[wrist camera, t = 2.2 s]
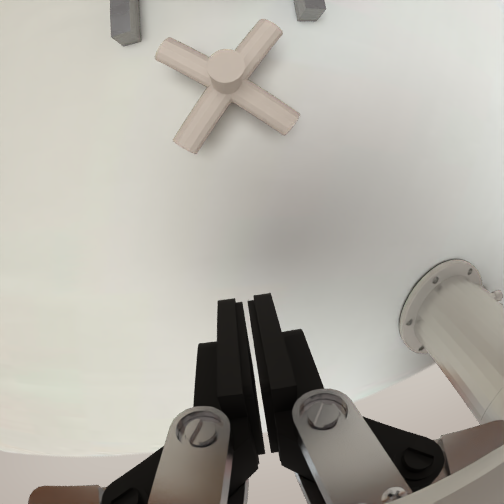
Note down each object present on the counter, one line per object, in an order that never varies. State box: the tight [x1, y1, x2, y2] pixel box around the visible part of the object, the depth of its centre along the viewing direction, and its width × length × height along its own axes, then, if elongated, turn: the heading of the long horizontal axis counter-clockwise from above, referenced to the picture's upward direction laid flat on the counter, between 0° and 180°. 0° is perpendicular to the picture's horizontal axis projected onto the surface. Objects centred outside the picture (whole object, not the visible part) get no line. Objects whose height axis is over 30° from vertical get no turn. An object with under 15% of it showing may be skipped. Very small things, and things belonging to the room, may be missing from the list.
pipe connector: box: [155, 19, 300, 154], centre depth 17 cm, size 10×10×10 cm
